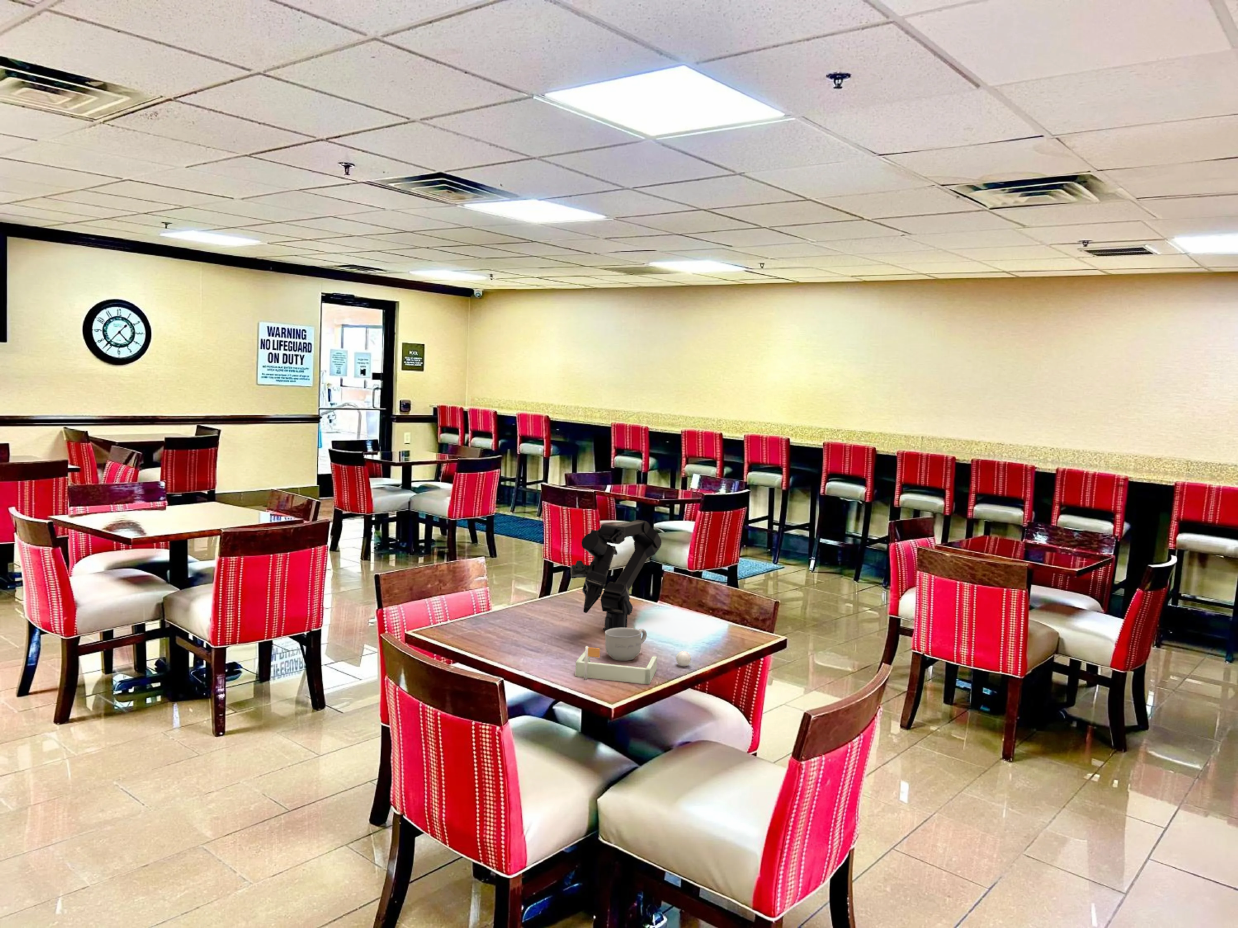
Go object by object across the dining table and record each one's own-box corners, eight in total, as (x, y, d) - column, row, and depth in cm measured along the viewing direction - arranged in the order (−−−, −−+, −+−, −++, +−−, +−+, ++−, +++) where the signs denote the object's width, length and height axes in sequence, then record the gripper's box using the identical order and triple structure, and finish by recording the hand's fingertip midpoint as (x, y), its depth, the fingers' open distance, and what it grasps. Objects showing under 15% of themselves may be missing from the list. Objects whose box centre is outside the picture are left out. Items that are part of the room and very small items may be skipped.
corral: (585, 662, 250) (587, 631, 249) (656, 670, 246) (657, 638, 245) (573, 678, 237) (575, 645, 236) (648, 686, 233) (649, 653, 232)
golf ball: (684, 662, 254) (685, 648, 253) (693, 666, 250) (694, 652, 250) (672, 664, 252) (673, 650, 251) (681, 669, 248) (682, 654, 248)
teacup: (614, 665, 249) (615, 637, 248) (597, 654, 259) (598, 627, 258) (656, 660, 255) (658, 633, 255) (638, 649, 265) (640, 623, 264)
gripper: (575, 561, 281) (559, 607, 275) (578, 546, 264) (561, 595, 258) (608, 572, 281) (593, 618, 275) (613, 558, 263) (597, 607, 258)
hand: (585, 609), depth 267 cm, fingers open, 9 cm apart
